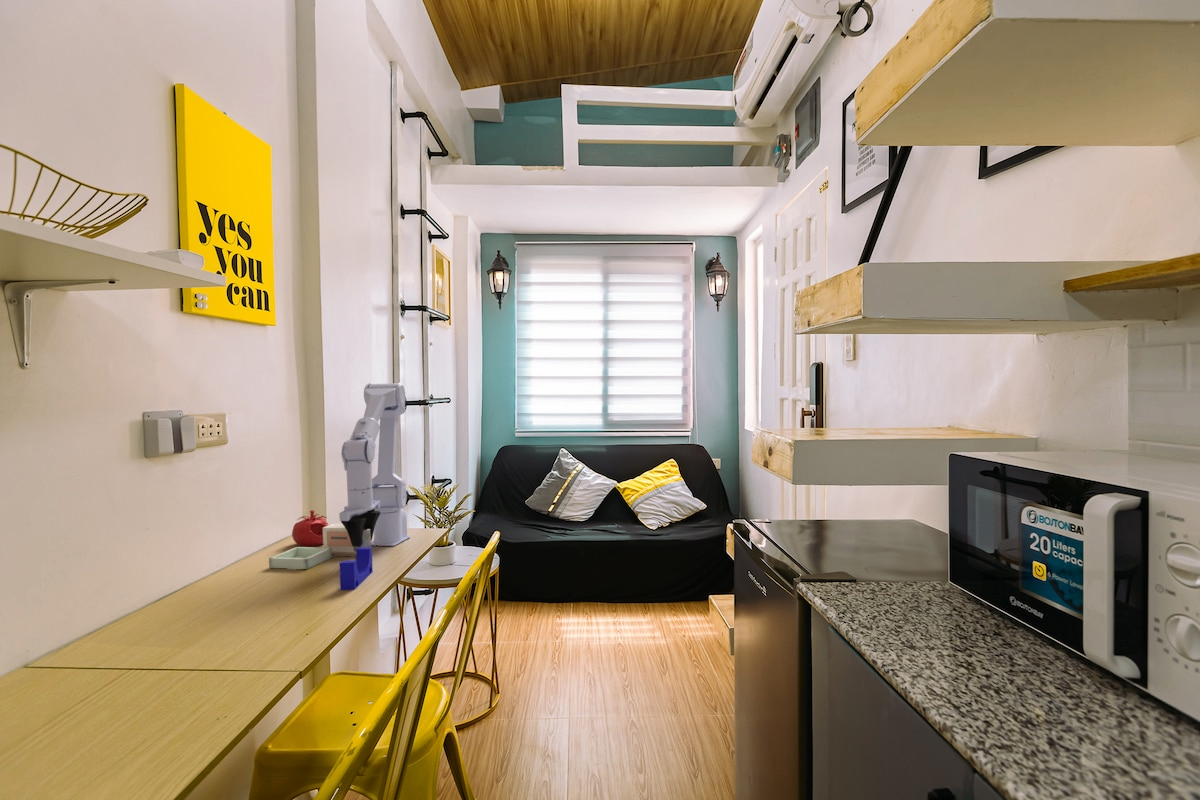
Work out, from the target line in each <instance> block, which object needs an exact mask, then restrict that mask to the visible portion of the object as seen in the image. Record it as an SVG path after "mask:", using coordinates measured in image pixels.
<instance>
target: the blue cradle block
mask: <svg viewBox="0 0 1200 800" xmlns="http://www.w3.org/2000/svg"><path fill="white" fill-rule="evenodd" d="M338 564H339V582H340V583H339V585H340V591H350V590H351V591H353V590H355V591H356V589H357V588H358V587H359V586H360V585H361V584H362V583H363V582H364V581H365V580H367V578H368V577H370V575H371V574H372V573H373V547H372V546H371V547H365V548H358V549H356V557H355V560H341V561H340V562H339V563H338Z"/></svg>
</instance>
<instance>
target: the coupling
mask: <svg viewBox="0 0 1200 800" xmlns="http://www.w3.org/2000/svg"><path fill="white" fill-rule="evenodd" d="M371 542H372V541H371V533H370V528H369V527H364V528H363V537H362V545H361V546H360V547H355V546H353V548H354V551H355V552H356V549H358V548H365V547H372V545H371Z"/></svg>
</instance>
